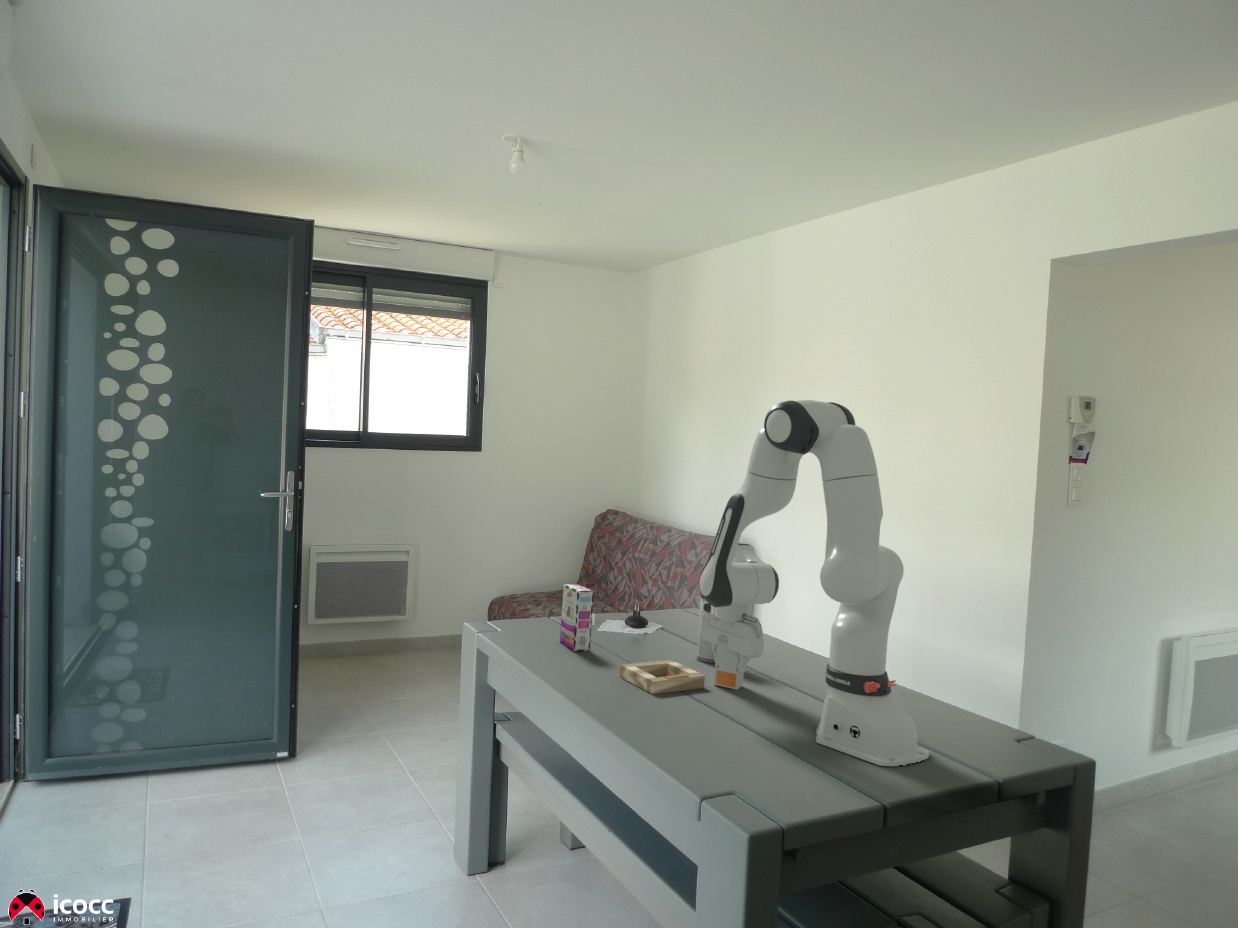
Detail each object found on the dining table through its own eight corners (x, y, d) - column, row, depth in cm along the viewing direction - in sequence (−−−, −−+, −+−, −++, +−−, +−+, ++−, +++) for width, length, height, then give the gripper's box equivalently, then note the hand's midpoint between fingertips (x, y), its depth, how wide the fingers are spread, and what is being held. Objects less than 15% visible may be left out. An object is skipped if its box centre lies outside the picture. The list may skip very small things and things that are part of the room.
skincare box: (713, 685, 205) (716, 635, 204) (719, 681, 208) (722, 632, 208) (737, 690, 202) (740, 640, 201) (743, 686, 206) (746, 636, 205)
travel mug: (722, 663, 225) (727, 588, 224) (697, 662, 225) (702, 587, 225) (720, 657, 231) (725, 584, 231) (696, 656, 231) (700, 582, 231)
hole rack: (704, 687, 202) (704, 674, 202) (652, 694, 195) (653, 680, 195) (669, 671, 215) (670, 658, 215) (619, 676, 207) (620, 663, 207)
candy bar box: (591, 651, 231) (594, 590, 230) (574, 652, 228) (577, 591, 228) (575, 641, 241) (579, 583, 240) (559, 641, 239) (562, 583, 238)
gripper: (772, 618, 197) (768, 677, 198) (718, 601, 215) (714, 655, 215) (750, 620, 194) (746, 680, 194) (697, 602, 212) (694, 657, 212)
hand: (729, 667), depth 205 cm, fingers closed on skincare box, 7 cm apart
